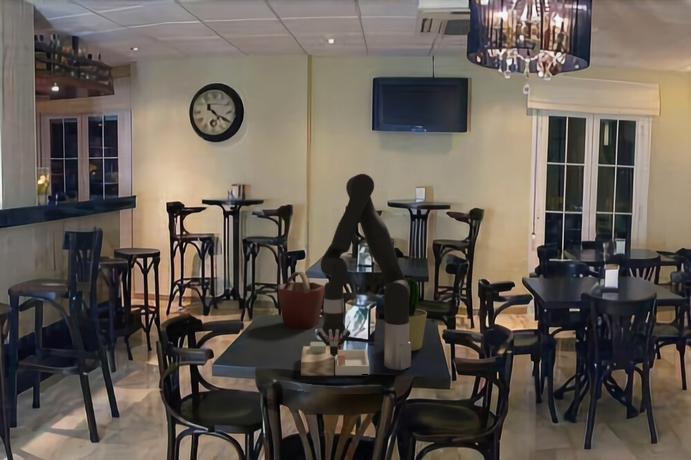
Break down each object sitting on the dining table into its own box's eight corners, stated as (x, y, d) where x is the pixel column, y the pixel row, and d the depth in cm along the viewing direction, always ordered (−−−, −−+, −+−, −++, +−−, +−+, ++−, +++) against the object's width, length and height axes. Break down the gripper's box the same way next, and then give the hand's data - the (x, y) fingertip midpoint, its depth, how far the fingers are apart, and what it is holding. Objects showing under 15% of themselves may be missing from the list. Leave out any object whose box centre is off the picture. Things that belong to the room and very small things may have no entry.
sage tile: (325, 348, 250) (325, 341, 250) (325, 352, 244) (325, 346, 244) (310, 348, 250) (310, 341, 249) (310, 352, 244) (310, 346, 243)
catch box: (366, 358, 253) (366, 349, 253) (369, 375, 233) (369, 365, 233) (334, 358, 253) (334, 349, 253) (335, 375, 233) (335, 365, 233)
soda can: (339, 352, 261) (339, 323, 260) (322, 351, 263) (322, 322, 261) (343, 347, 268) (343, 319, 267) (326, 346, 270) (326, 318, 268)
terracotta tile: (338, 366, 242) (344, 366, 242) (338, 371, 236) (345, 371, 236) (338, 350, 241) (344, 350, 241) (338, 355, 235) (345, 355, 235)
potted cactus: (398, 339, 280) (399, 272, 277) (431, 344, 272) (432, 275, 269) (383, 348, 266) (384, 277, 263) (418, 354, 259) (419, 281, 256)
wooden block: (333, 358, 253) (333, 346, 252) (333, 375, 233) (333, 361, 233) (303, 358, 253) (303, 346, 252) (301, 375, 233) (300, 362, 232)
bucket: (278, 318, 317) (277, 268, 314) (322, 317, 319) (322, 268, 317) (278, 331, 293) (277, 278, 290) (326, 330, 295) (326, 277, 292)
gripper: (351, 307, 240) (351, 352, 242) (316, 307, 240) (316, 352, 241) (352, 312, 233) (351, 358, 234) (315, 312, 232) (315, 358, 234)
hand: (333, 355), depth 238 cm, fingers closed
